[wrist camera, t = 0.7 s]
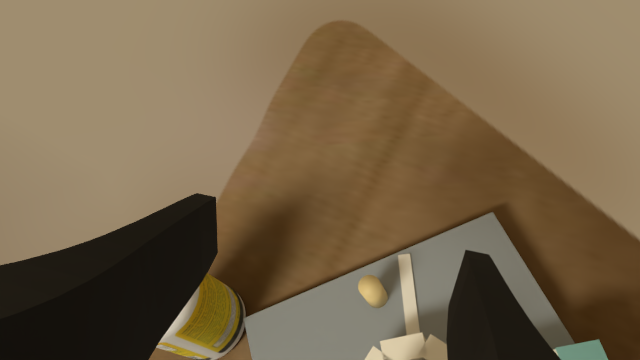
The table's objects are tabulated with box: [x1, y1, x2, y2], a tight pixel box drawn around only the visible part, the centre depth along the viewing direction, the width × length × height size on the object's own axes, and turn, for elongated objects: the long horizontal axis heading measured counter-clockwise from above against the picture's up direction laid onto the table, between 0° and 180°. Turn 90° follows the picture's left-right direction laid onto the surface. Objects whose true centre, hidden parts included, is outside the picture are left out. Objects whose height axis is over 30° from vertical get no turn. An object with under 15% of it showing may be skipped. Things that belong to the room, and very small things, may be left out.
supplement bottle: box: [156, 273, 246, 360], centre depth 26 cm, size 5×5×8 cm
